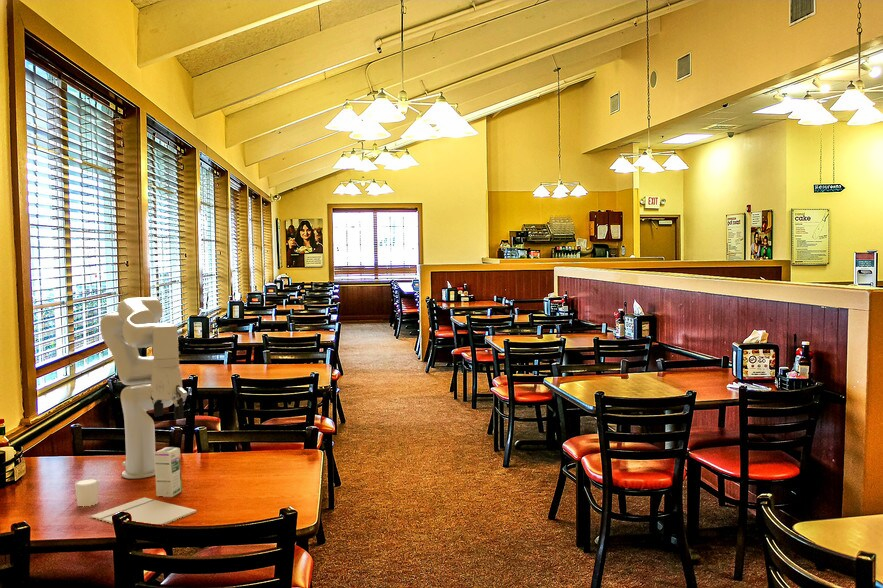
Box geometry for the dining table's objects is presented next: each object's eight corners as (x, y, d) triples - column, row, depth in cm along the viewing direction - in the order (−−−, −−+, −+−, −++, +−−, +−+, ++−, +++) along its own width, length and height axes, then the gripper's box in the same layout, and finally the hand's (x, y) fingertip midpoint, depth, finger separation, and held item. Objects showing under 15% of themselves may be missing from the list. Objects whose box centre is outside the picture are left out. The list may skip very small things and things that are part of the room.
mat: (90, 517, 208) (90, 515, 208) (144, 499, 224) (143, 497, 224) (144, 532, 196) (143, 530, 196) (196, 511, 212) (196, 509, 212)
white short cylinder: (83, 509, 216) (82, 486, 215) (70, 505, 219) (69, 482, 219) (104, 502, 222) (103, 480, 221) (91, 498, 225) (90, 476, 225)
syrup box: (172, 497, 225) (170, 452, 224) (155, 496, 226) (153, 451, 225) (182, 491, 231) (180, 447, 230) (165, 490, 232) (164, 446, 231)
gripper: (138, 364, 228) (141, 417, 229) (174, 366, 219) (177, 421, 220) (158, 361, 235) (161, 413, 235) (194, 363, 226) (196, 417, 226)
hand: (168, 417), depth 228 cm, fingers open, 9 cm apart
